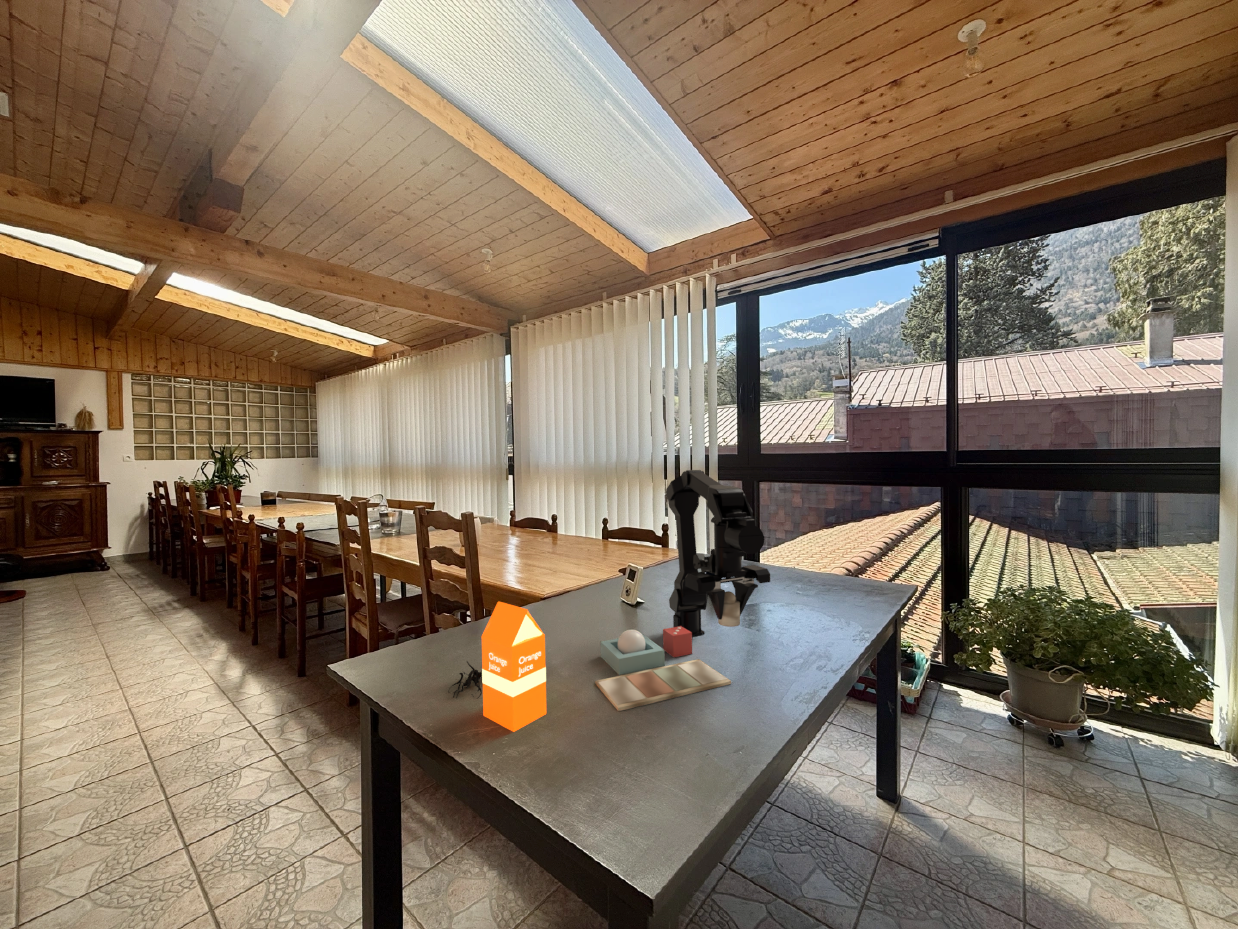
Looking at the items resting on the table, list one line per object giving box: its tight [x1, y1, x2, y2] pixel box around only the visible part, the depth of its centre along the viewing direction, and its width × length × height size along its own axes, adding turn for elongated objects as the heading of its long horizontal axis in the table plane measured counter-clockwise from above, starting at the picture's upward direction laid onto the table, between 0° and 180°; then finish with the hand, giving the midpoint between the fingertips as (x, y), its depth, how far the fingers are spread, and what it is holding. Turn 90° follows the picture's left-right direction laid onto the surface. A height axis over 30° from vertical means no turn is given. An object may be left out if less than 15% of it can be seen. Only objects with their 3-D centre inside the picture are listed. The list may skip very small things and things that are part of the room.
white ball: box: [618, 629, 646, 655], centre depth 111 cm, size 6×6×6 cm
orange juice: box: [480, 601, 547, 733], centre depth 88 cm, size 8×9×20 cm
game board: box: [594, 658, 732, 712], centre depth 99 cm, size 25×12×1 cm, turn 113°
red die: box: [662, 626, 693, 658], centre depth 115 cm, size 5×5×5 cm
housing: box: [599, 633, 666, 676], centre depth 111 cm, size 11×11×4 cm
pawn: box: [717, 590, 741, 628], centre depth 105 cm, size 5×5×7 cm
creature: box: [448, 660, 483, 700], centre depth 97 cm, size 8×5×8 cm
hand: (728, 617), depth 106 cm, fingers closed on pawn, 5 cm apart
